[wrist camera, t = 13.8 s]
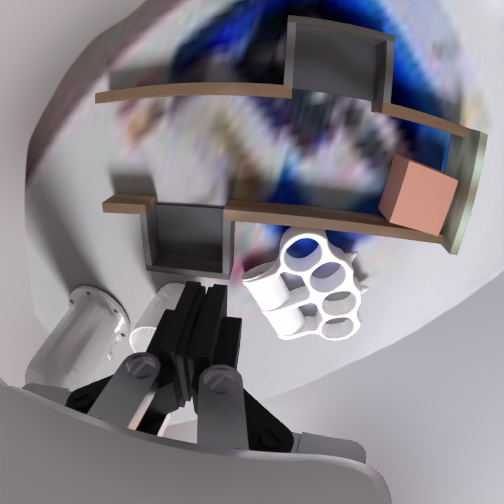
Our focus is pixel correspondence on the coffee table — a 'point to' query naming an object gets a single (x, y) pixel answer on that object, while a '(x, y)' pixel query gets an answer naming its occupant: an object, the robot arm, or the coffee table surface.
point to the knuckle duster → (307, 289)
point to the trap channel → (223, 219)
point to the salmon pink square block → (417, 195)
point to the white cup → (154, 315)
